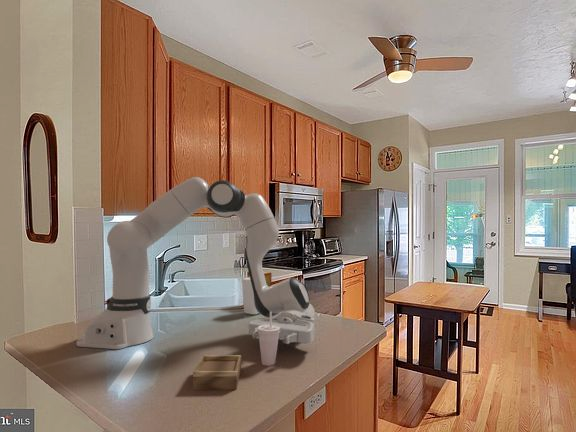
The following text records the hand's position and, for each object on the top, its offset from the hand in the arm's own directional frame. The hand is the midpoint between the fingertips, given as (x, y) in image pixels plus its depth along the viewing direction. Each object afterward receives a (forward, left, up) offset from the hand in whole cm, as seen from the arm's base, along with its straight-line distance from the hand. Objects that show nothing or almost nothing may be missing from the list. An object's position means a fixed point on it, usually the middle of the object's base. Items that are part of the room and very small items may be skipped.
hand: (269, 338), depth 95 cm
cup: (-8, +51, -7) cm, 52 cm away
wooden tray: (-12, -11, -6) cm, 18 cm away
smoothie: (0, -1, -7) cm, 7 cm away
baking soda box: (-6, +65, -7) cm, 66 cm away
